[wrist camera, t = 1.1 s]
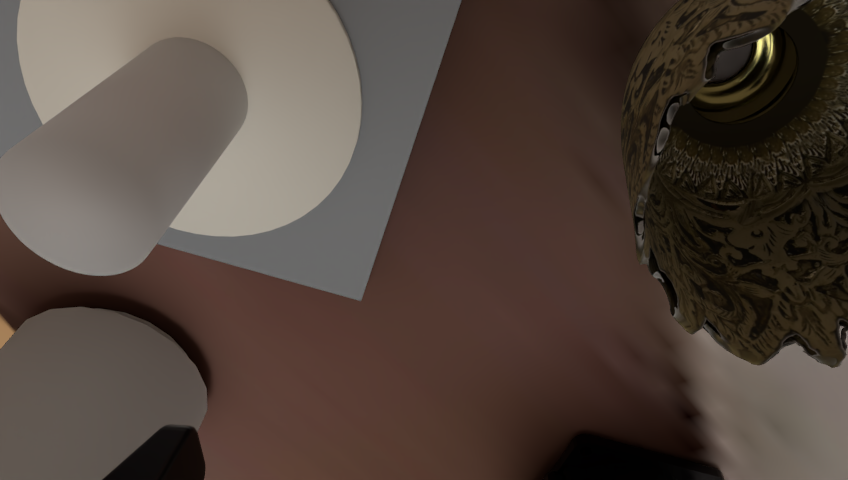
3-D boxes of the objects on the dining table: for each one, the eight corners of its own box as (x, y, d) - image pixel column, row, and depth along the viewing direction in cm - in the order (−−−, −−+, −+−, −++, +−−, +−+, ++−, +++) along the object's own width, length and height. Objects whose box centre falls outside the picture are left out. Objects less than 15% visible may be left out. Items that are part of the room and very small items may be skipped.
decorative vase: (904, 95, 17) (1172, 270, 11) (645, 217, 20) (731, 420, 13) (823, -179, 14) (1132, -169, 8) (527, 10, 17) (563, 140, 10)
